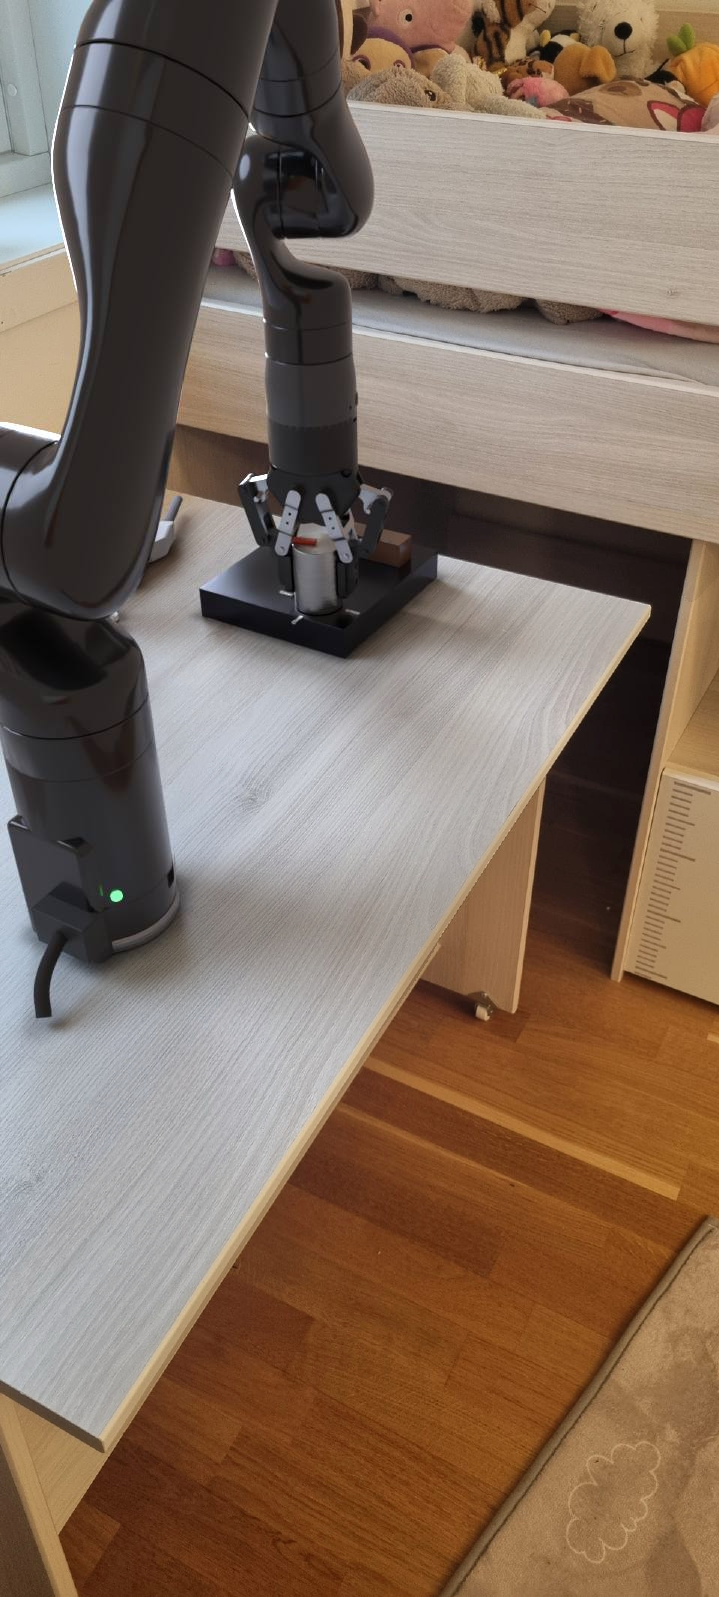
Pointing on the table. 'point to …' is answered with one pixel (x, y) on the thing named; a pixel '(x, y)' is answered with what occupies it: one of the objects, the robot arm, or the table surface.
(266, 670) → the table surface
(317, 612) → the hob knob
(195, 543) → the table surface
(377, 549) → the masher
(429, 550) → the hob
